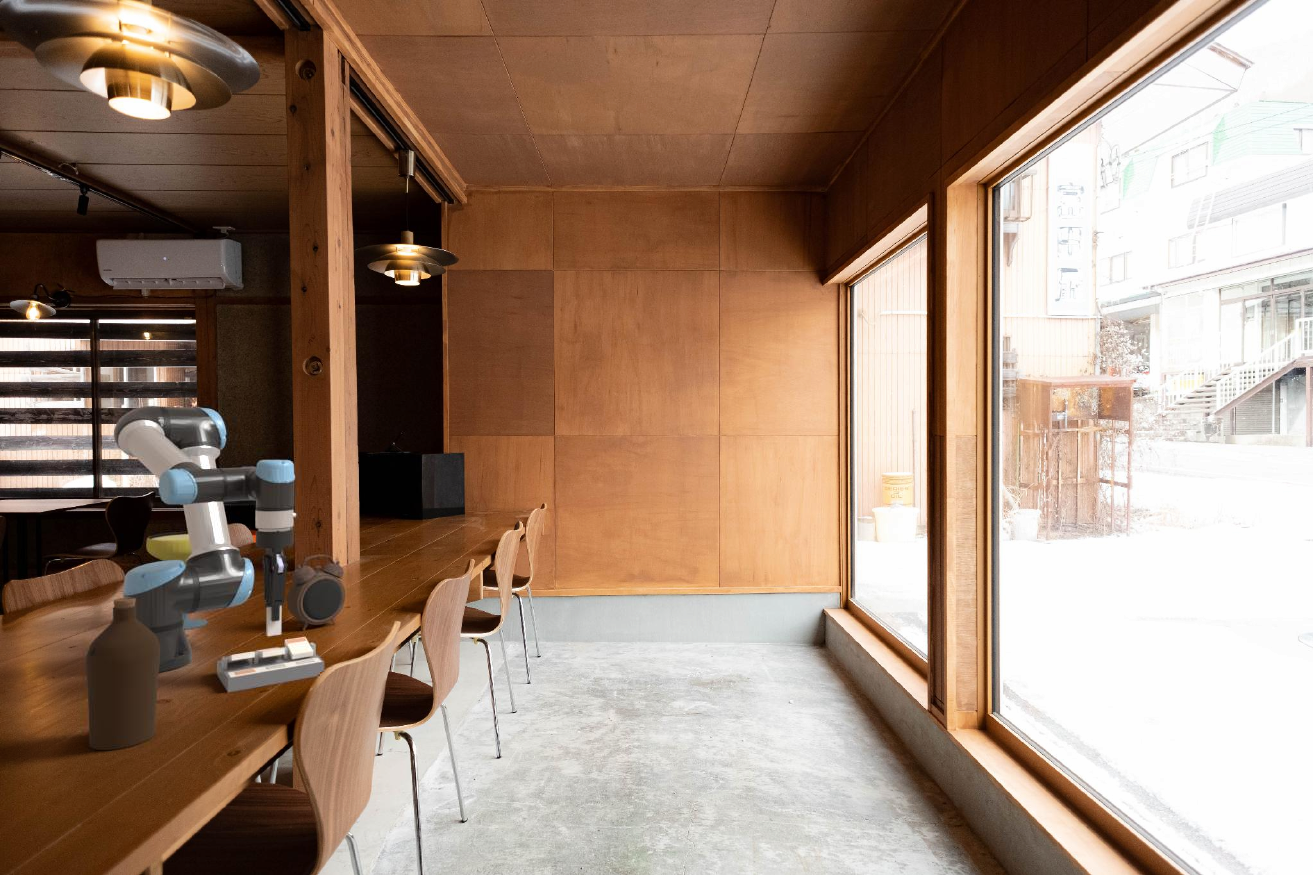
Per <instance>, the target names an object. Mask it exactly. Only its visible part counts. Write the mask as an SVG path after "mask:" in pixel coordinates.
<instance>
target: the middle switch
mask: <svg viewBox="0 0 1313 875" xmlns="http://www.w3.org/2000/svg"><path fill="white" fill-rule="evenodd" d="M255 651H256V652H257V653H258V657H269V656H275V655H282V654H285V648H282V647H270V648H263V649H262V648H261V649H258V650H257V649H256V650H255Z"/></svg>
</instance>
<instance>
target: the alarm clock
mask: <svg viewBox="0 0 1313 875" xmlns="http://www.w3.org/2000/svg"><path fill="white" fill-rule="evenodd" d="M318 558H328V560H329V561H330V563H327V564H325V565H324V567H323V568H322V565H317V566H315V567H314V568H315V569H316V570H317V571H315V570H314V569H313V567H311V566H310V565H306V564H307V562H308V561H309V560H313V559H318ZM343 568H344V567H342V566H341V565H340V561H339V560H338V561H336V562H335V561H334V559H333V558H332V556H331V555H327V554H316V555H311V556H308V557H306V558H305V559H303V560H302V562H301V564H298V565H296V569H295V570H294V571H293V572H292V575H291V578H292V582H293V584H292V585H291V586H290V588H289V590H288V593H287V597H286V603H287V604H286V605H287V609H288V611H289V613H290V614H291V615H292V616H293V617H294V618H295V619H297V620H298V621H299V622H298V624H297V627H300V626H301V624H302V623H304V626H303V628H302V631H305V630H306V628H307V627H308V626H309V625H315V626H316V625H317V626H318V625H319V626H320V625H323V624H326V623H329V622H330V621H331V622H332V625H333V626H335V625H336V622H335V620H334V619H335V618H336V617H337V615H339V614H340V612H341V611H342V609H343V607H344V603H345V600H346V589H345V587H344V584H343V582H342V581H341V579H343V577H344V573H345V571H344V569H343ZM320 569H321V571H320Z"/></svg>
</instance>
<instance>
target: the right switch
mask: <svg viewBox="0 0 1313 875" xmlns="http://www.w3.org/2000/svg"><path fill="white" fill-rule="evenodd" d="M284 647H286V648H287V649H288V652H289V654H290V656H291V658H292V659H298V658H304V657H310V656H313V649H312V648H311V646H310V642H309V640H308V639H307V638H306V636H302V637H296V638H288V639H284Z"/></svg>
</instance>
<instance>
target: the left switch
mask: <svg viewBox="0 0 1313 875" xmlns="http://www.w3.org/2000/svg"><path fill="white" fill-rule="evenodd" d="M253 657H255V651H249V652H242V653H236V654H230V655H227V656H226V658H227V663H228V662H234V661H240V660H246V659H250V658H253Z"/></svg>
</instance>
